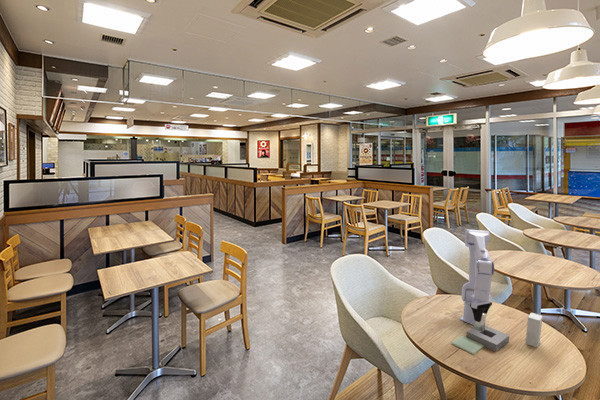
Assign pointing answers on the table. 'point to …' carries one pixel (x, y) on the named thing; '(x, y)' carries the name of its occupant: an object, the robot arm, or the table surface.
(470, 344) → the mat
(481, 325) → the plug
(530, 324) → the skincare box
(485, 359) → the table surface
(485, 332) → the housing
